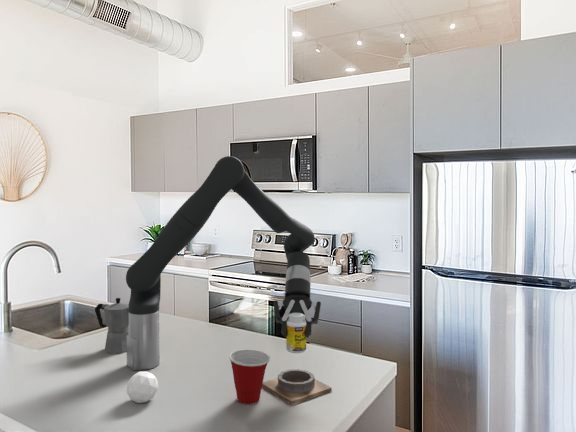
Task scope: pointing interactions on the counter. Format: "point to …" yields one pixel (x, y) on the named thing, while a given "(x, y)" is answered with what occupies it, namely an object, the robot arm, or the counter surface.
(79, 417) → the counter surface
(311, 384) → the ring collar
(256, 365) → the plastic cup
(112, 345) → the coffeepot
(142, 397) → the geometric ball
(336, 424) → the counter surface
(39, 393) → the counter surface
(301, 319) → the supplement bottle
